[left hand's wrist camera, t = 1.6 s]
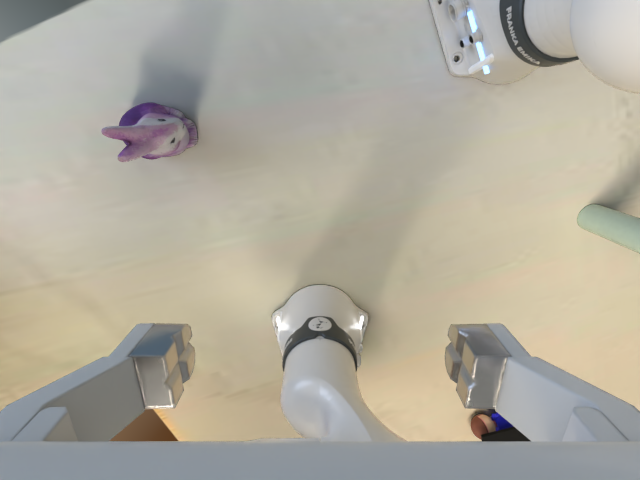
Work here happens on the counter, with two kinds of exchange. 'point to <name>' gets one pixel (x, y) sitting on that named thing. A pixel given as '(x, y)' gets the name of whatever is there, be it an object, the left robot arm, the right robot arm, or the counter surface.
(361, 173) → the counter surface
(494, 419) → the figurine character
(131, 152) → the figurine
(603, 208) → the jar
